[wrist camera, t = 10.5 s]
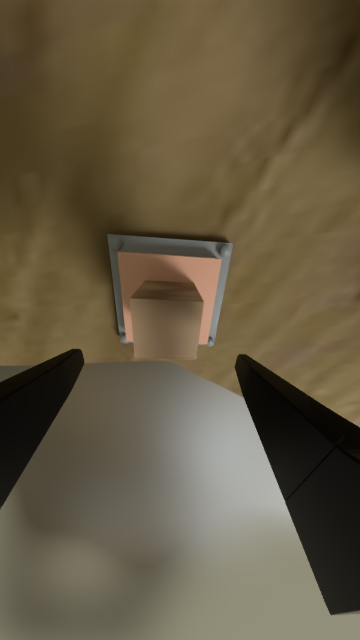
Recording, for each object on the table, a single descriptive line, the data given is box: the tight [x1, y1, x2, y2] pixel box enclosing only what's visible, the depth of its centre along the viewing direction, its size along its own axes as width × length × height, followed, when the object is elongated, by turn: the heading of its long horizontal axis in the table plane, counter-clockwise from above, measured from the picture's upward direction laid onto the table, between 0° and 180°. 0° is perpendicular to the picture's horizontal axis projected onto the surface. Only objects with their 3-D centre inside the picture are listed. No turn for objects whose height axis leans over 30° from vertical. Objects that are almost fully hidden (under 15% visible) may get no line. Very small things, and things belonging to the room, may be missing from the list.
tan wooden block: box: [130, 280, 204, 360], centre depth 14 cm, size 5×5×6 cm
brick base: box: [107, 234, 233, 347], centre depth 18 cm, size 13×13×3 cm
